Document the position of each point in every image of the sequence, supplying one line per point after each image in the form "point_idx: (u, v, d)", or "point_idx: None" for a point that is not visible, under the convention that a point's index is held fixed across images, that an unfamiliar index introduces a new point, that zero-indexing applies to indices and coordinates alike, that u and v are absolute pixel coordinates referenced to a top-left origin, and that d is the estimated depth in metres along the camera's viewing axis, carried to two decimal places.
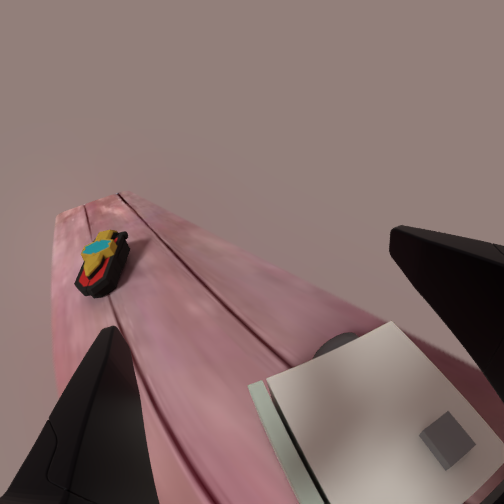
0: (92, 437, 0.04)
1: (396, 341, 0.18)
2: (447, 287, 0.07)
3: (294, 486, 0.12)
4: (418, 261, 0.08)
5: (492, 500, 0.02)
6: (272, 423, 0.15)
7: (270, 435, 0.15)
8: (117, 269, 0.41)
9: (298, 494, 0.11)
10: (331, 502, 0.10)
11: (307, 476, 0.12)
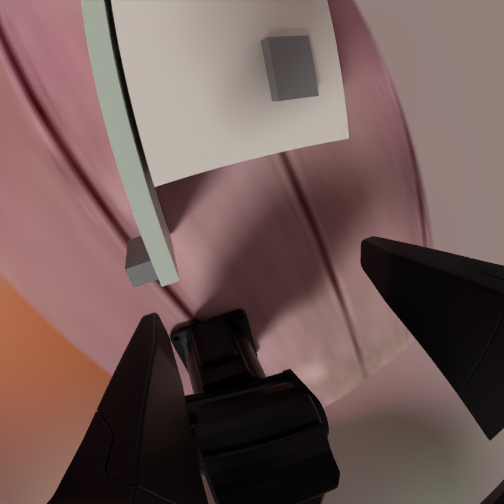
0: (151, 426, 0.04)
1: None
2: (419, 305, 0.07)
3: (91, 60, 0.09)
4: (388, 275, 0.08)
5: (492, 500, 0.02)
6: None
7: None
8: None
9: (94, 71, 0.09)
10: (128, 86, 0.10)
11: (109, 47, 0.09)
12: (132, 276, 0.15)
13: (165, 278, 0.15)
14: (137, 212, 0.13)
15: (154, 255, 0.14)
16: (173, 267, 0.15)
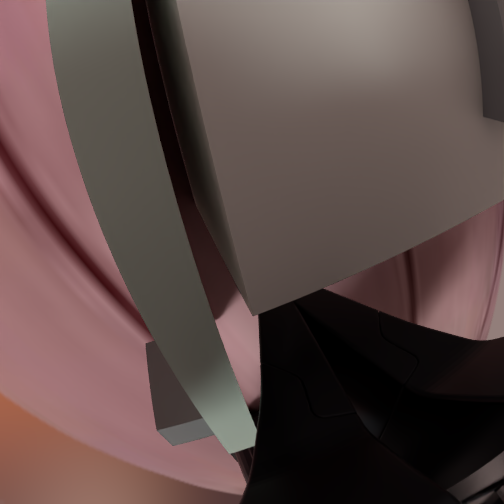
0: None
1: None
2: None
3: None
4: None
5: (492, 500, 0.02)
6: None
7: None
8: None
9: None
10: None
11: None
12: (170, 436, 0.07)
13: (238, 446, 0.07)
14: (188, 375, 0.05)
15: (222, 427, 0.06)
16: (255, 433, 0.07)
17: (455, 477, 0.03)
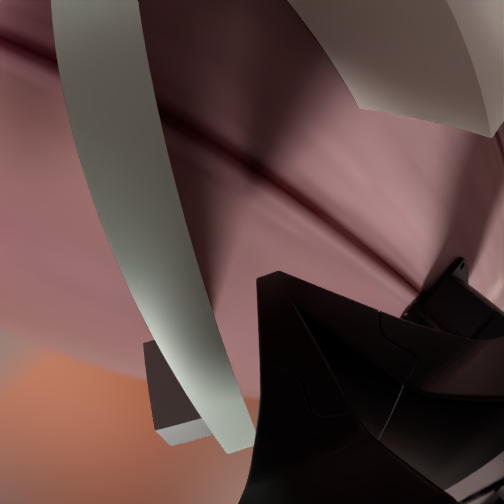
0: None
1: None
2: None
3: None
4: None
5: (492, 500, 0.02)
6: None
7: None
8: None
9: None
10: None
11: None
12: (169, 436, 0.07)
13: (236, 446, 0.07)
14: (188, 376, 0.05)
15: (221, 427, 0.06)
16: (253, 433, 0.07)
17: (456, 477, 0.03)
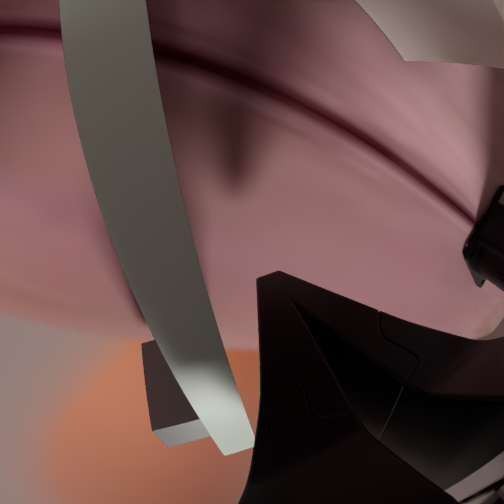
0: None
1: None
2: None
3: None
4: None
5: (492, 500, 0.02)
6: None
7: None
8: None
9: None
10: None
11: None
12: (165, 437, 0.07)
13: (233, 448, 0.07)
14: (187, 375, 0.05)
15: (218, 428, 0.06)
16: (251, 435, 0.07)
17: (456, 477, 0.03)
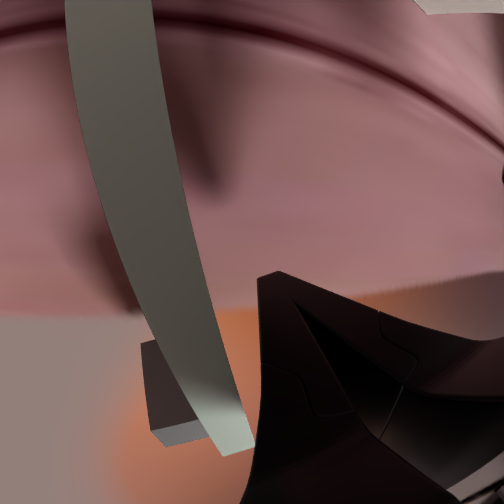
0: None
1: None
2: None
3: None
4: None
5: (492, 500, 0.02)
6: None
7: None
8: None
9: None
10: None
11: None
12: (164, 437, 0.07)
13: (232, 448, 0.07)
14: (186, 375, 0.05)
15: (217, 429, 0.06)
16: (249, 436, 0.07)
17: (455, 477, 0.03)
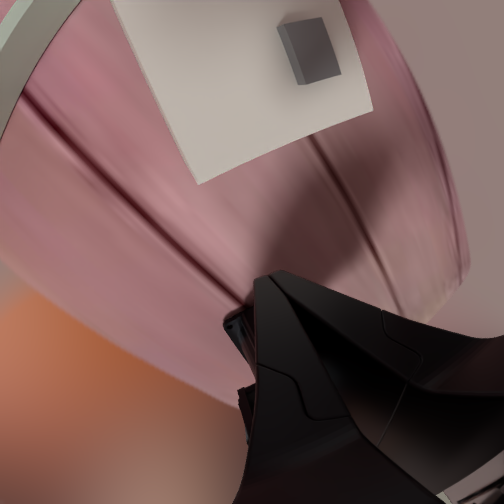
0: None
1: None
2: None
3: None
4: None
5: (492, 500, 0.02)
6: (22, 2, 0.06)
7: (8, 14, 0.06)
8: None
9: None
10: (154, 91, 0.10)
11: None
12: None
13: None
14: None
15: None
16: None
17: (459, 474, 0.03)
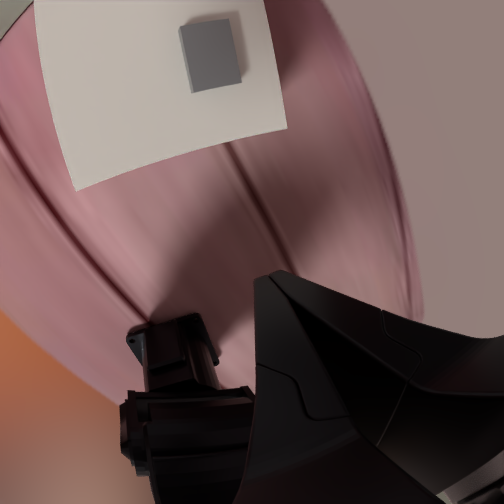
0: None
1: None
2: None
3: None
4: None
5: (492, 500, 0.02)
6: None
7: None
8: None
9: None
10: (48, 94, 0.09)
11: None
12: None
13: None
14: None
15: None
16: None
17: (458, 474, 0.03)
